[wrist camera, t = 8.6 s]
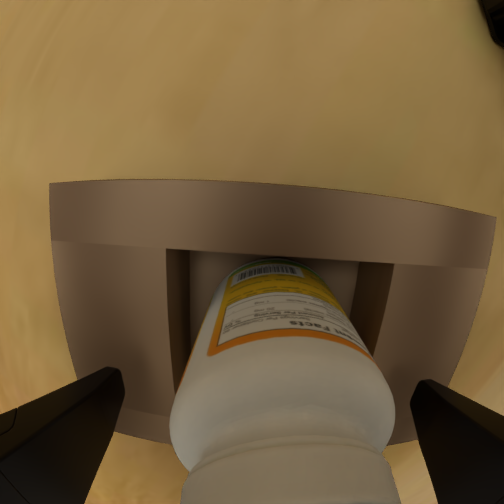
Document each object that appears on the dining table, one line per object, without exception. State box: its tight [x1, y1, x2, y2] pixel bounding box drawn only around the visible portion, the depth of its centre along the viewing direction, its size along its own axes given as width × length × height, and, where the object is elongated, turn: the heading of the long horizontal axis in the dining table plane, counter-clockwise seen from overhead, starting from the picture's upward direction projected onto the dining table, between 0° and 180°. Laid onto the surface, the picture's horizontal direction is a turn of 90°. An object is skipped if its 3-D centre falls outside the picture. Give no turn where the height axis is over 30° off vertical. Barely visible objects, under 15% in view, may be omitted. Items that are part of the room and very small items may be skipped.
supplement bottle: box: [169, 258, 401, 504], centre depth 8 cm, size 5×5×10 cm
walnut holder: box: [49, 179, 497, 446], centre depth 11 cm, size 16×11×4 cm
